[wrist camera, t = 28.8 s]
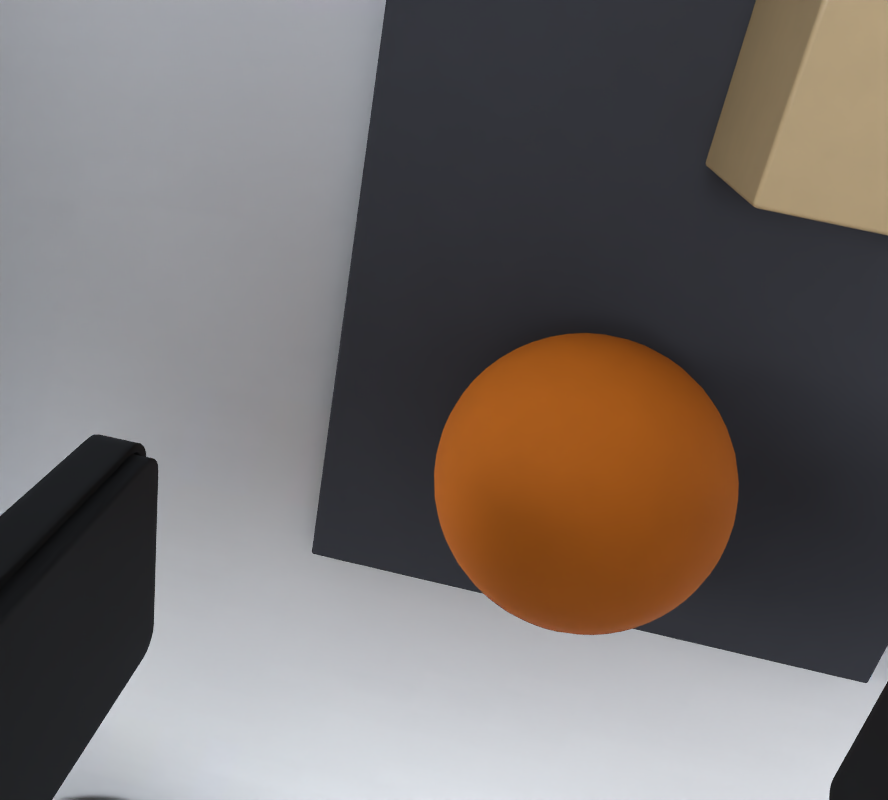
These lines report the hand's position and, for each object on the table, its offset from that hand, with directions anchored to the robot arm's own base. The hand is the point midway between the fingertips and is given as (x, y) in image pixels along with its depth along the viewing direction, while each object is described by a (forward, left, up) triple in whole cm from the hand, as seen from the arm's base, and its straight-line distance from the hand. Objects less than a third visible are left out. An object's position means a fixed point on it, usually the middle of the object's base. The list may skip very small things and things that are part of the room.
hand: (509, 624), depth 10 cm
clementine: (0, +1, -5) cm, 5 cm away
